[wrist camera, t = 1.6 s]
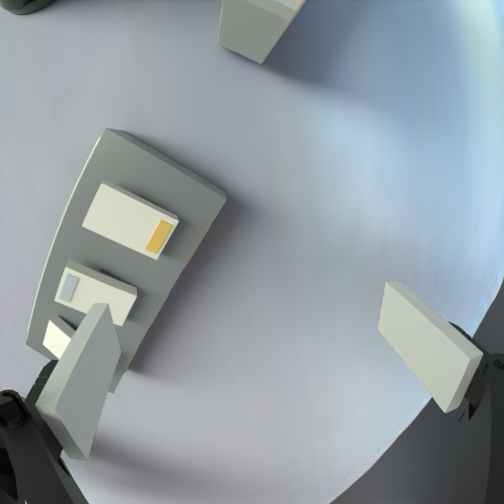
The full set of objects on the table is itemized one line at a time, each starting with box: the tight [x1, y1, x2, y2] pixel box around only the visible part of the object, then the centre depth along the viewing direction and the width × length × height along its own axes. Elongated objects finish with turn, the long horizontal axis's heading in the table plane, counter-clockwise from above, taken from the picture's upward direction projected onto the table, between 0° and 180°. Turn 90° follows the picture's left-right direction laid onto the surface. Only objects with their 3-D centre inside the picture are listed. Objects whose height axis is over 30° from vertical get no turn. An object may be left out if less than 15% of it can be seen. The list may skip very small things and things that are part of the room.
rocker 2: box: [82, 179, 179, 260], centre depth 27 cm, size 8×4×2 cm, turn 56°
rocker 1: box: [43, 315, 76, 359], centre depth 31 cm, size 8×4×2 cm, turn 56°
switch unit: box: [26, 128, 227, 393], centre depth 33 cm, size 15×30×7 cm, turn 146°
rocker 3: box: [54, 259, 137, 327], centre depth 29 cm, size 8×4×2 cm, turn 56°
